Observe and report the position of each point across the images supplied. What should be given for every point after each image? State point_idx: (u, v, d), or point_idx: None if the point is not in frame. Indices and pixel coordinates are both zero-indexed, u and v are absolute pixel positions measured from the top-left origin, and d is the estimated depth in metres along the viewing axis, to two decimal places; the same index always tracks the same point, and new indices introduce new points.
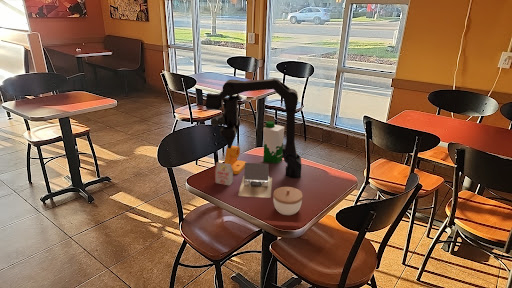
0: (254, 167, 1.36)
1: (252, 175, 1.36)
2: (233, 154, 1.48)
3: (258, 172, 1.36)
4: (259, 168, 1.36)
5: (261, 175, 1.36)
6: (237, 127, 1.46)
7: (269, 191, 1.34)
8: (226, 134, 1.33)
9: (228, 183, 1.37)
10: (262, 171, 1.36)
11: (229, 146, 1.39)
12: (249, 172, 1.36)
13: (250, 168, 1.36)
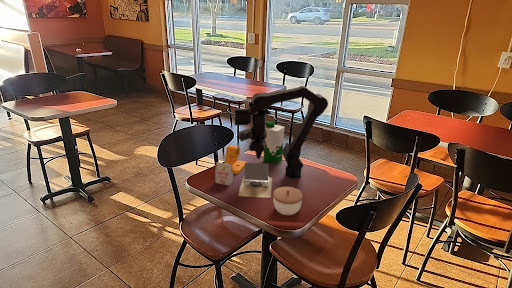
0: (254, 167, 1.36)
1: (252, 175, 1.36)
2: (233, 154, 1.48)
3: (258, 172, 1.36)
4: (259, 168, 1.36)
5: (261, 175, 1.36)
6: None
7: (269, 191, 1.34)
8: (255, 149, 1.30)
9: (228, 183, 1.37)
10: (262, 171, 1.36)
11: (258, 156, 1.41)
12: (249, 172, 1.36)
13: (250, 168, 1.36)
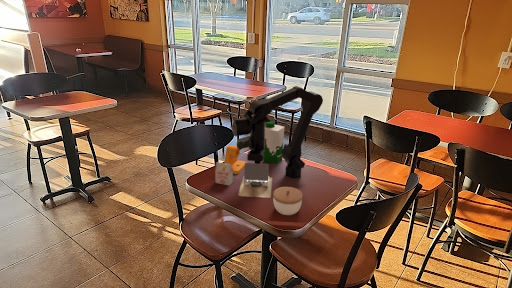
0: (254, 167, 1.36)
1: (252, 175, 1.36)
2: (233, 154, 1.48)
3: (258, 172, 1.36)
4: (259, 168, 1.35)
5: (261, 175, 1.35)
6: None
7: (269, 191, 1.34)
8: (254, 159, 1.26)
9: (228, 183, 1.37)
10: (262, 171, 1.35)
11: None
12: (249, 172, 1.36)
13: (250, 168, 1.36)
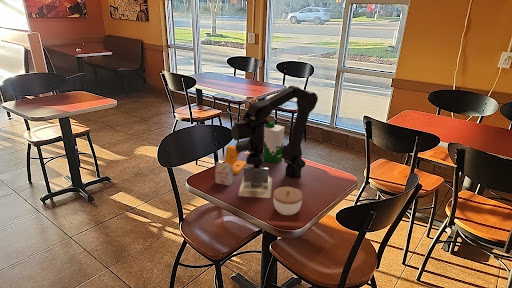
0: (253, 171, 1.33)
1: (252, 178, 1.34)
2: (233, 154, 1.48)
3: (257, 176, 1.33)
4: (258, 172, 1.33)
5: (261, 178, 1.34)
6: None
7: (269, 191, 1.34)
8: (253, 163, 1.23)
9: (228, 183, 1.37)
10: (261, 175, 1.33)
11: None
12: (248, 175, 1.34)
13: (249, 172, 1.33)
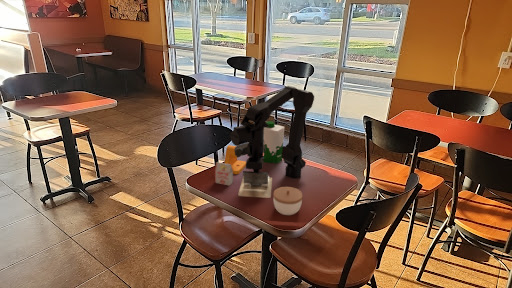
0: (253, 175, 1.31)
1: (251, 180, 1.34)
2: (233, 154, 1.48)
3: (257, 179, 1.33)
4: (258, 176, 1.31)
5: (260, 180, 1.33)
6: None
7: (269, 191, 1.34)
8: (252, 167, 1.21)
9: (228, 183, 1.37)
10: (261, 178, 1.32)
11: None
12: (248, 178, 1.33)
13: (249, 176, 1.32)
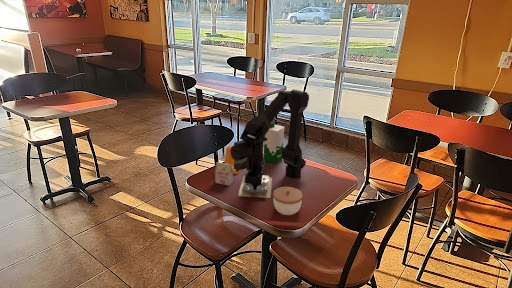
0: None
1: None
2: None
3: None
4: None
5: None
6: None
7: (269, 191, 1.34)
8: (252, 182, 1.19)
9: (228, 183, 1.37)
10: None
11: (255, 187, 1.30)
12: None
13: None
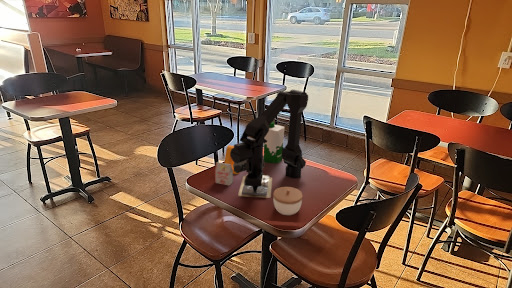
0: None
1: None
2: None
3: None
4: None
5: None
6: (260, 176, 1.29)
7: (269, 191, 1.34)
8: (251, 184, 1.19)
9: (228, 183, 1.37)
10: None
11: (255, 188, 1.30)
12: None
13: None
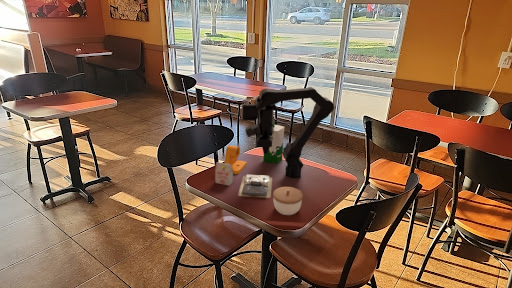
0: None
1: None
2: (233, 154, 1.48)
3: None
4: None
5: None
6: None
7: (269, 191, 1.34)
8: (263, 145, 1.30)
9: (228, 183, 1.37)
10: None
11: (265, 152, 1.40)
12: None
13: None
